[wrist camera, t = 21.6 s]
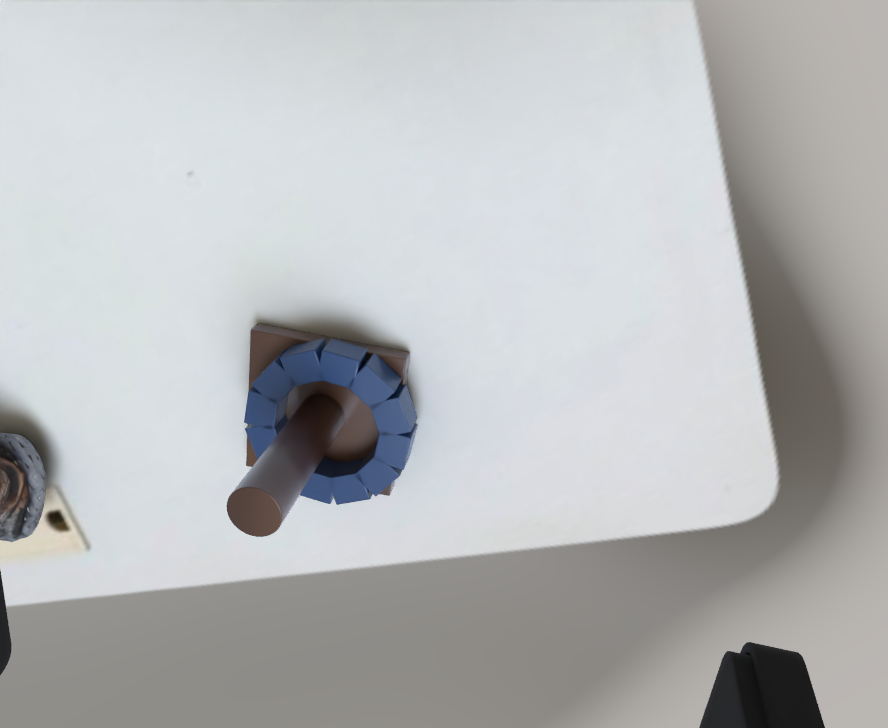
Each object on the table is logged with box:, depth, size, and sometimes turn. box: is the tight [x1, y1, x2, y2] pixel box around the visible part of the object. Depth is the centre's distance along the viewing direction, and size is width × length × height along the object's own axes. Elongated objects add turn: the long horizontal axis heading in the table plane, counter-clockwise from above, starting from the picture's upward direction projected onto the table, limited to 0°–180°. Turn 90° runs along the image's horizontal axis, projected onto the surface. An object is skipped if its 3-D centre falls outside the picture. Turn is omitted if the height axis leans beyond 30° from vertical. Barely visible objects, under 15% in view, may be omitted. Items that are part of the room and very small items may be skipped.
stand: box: [227, 324, 410, 537], centre depth 37 cm, size 8×8×10 cm
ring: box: [244, 338, 417, 505], centre depth 40 cm, size 8×8×2 cm
